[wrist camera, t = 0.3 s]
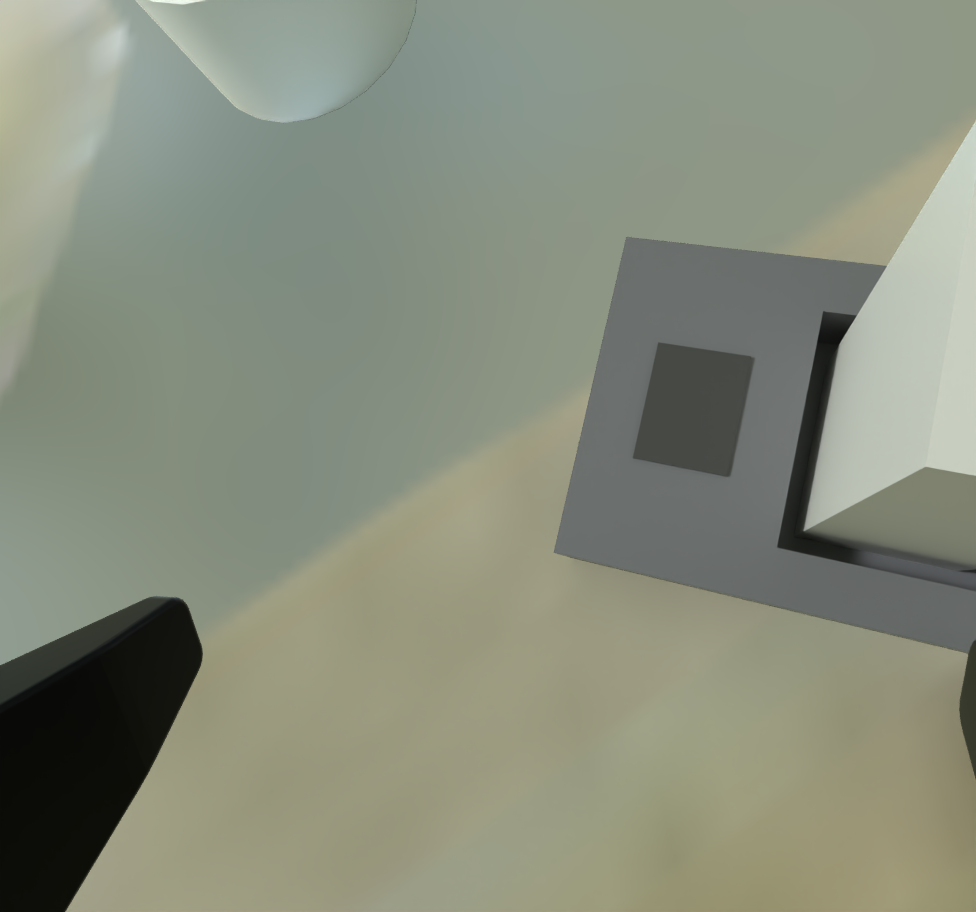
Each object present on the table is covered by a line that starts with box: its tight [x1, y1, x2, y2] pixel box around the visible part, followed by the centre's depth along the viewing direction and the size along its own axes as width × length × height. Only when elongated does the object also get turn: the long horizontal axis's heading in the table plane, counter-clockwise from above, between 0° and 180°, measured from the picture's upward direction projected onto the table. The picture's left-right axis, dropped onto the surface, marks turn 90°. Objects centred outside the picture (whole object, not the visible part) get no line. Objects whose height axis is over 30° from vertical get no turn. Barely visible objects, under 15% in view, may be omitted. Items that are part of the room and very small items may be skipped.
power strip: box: [554, 237, 976, 654], centre depth 19 cm, size 16×9×4 cm, turn 76°
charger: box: [794, 121, 976, 571], centre depth 15 cm, size 4×5×12 cm
